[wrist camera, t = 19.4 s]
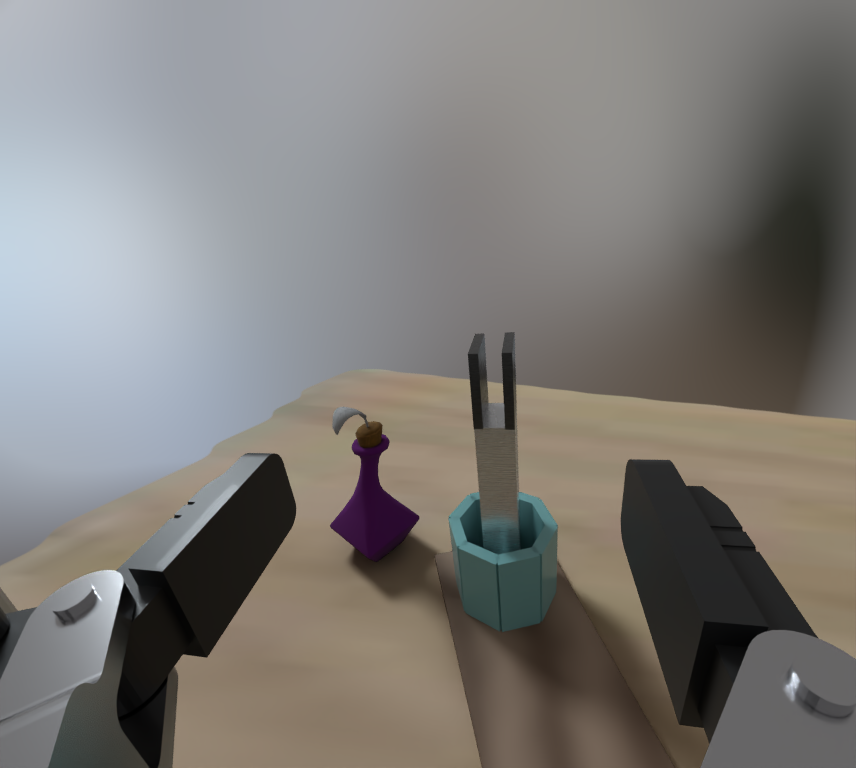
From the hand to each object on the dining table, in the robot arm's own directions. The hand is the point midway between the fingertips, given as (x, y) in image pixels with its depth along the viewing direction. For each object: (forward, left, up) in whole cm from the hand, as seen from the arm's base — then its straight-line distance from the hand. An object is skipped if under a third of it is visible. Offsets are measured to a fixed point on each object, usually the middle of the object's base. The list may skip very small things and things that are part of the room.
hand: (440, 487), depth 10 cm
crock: (+7, +20, -29) cm, 36 cm away
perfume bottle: (-5, +30, -30) cm, 43 cm away
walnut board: (+7, +12, -30) cm, 33 cm away
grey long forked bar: (+7, +20, -28) cm, 35 cm away
